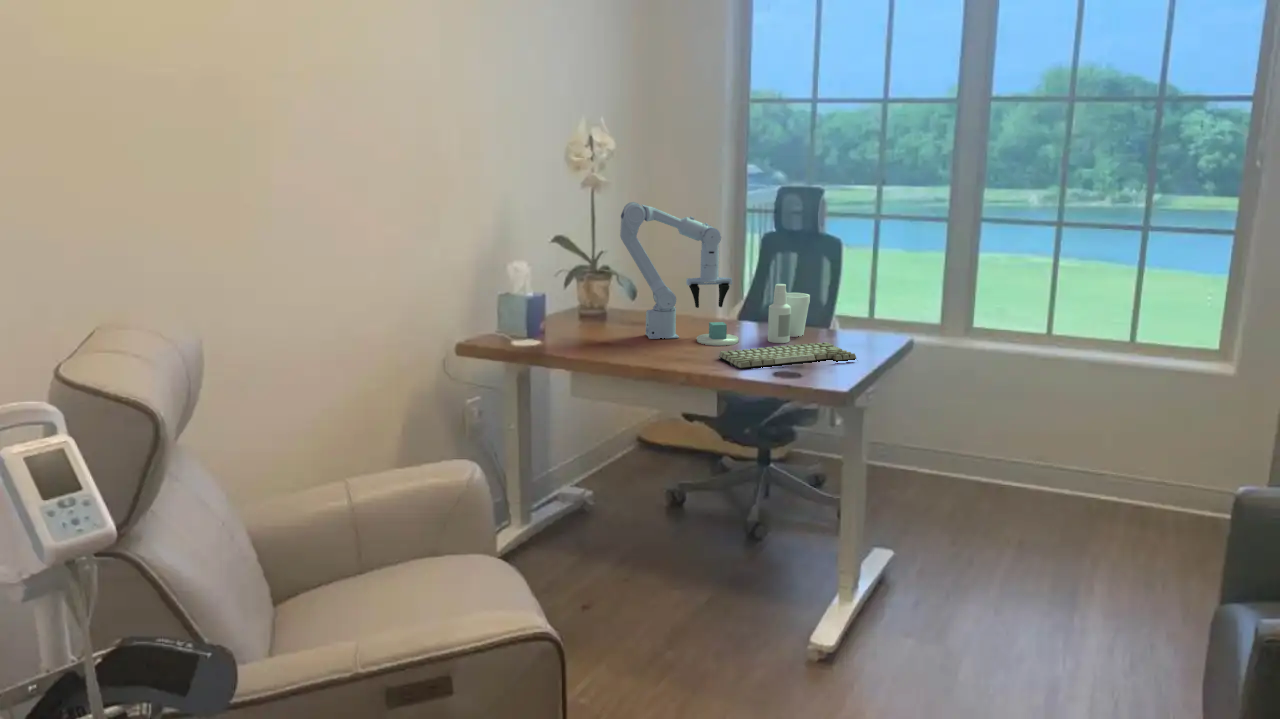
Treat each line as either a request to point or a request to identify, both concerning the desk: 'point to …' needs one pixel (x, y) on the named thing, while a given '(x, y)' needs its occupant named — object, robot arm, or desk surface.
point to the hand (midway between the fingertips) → (708, 307)
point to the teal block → (717, 330)
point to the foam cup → (798, 312)
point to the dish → (717, 340)
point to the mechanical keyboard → (785, 355)
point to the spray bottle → (779, 316)
